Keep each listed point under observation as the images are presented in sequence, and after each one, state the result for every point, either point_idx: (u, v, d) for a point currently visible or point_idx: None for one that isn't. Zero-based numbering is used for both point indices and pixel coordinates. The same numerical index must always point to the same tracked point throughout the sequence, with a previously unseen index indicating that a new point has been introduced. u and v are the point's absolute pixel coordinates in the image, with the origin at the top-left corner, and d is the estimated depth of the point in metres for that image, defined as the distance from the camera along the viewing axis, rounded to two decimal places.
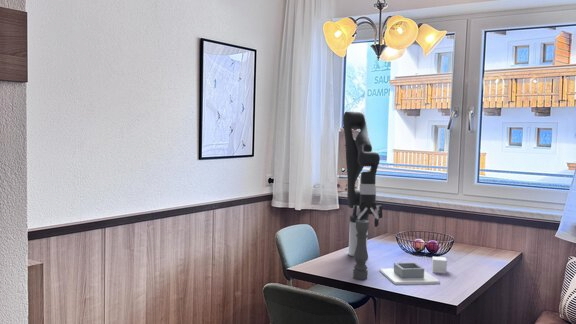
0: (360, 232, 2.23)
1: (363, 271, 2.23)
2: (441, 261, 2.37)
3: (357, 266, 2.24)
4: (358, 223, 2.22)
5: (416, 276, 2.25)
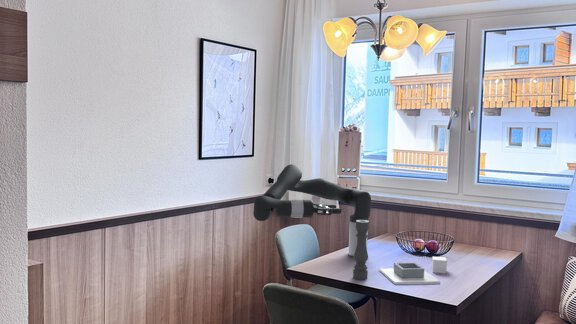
0: (360, 232, 2.23)
1: (363, 271, 2.23)
2: (441, 261, 2.37)
3: (357, 266, 2.24)
4: (358, 223, 2.22)
5: (416, 276, 2.25)
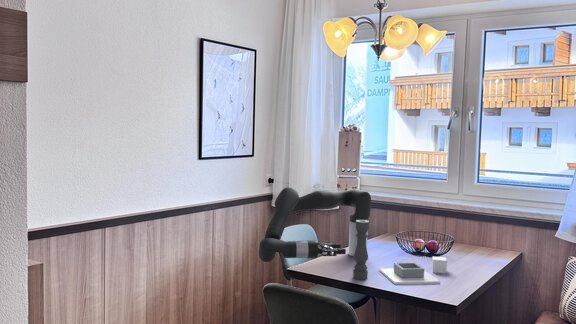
0: (360, 232, 2.23)
1: (363, 271, 2.23)
2: (441, 261, 2.37)
3: (357, 266, 2.24)
4: (358, 223, 2.22)
5: (416, 276, 2.25)
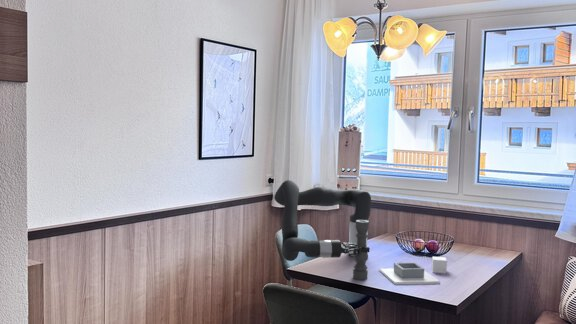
0: (360, 232, 2.23)
1: (363, 271, 2.23)
2: (441, 261, 2.37)
3: (357, 266, 2.24)
4: (358, 223, 2.22)
5: (416, 276, 2.25)
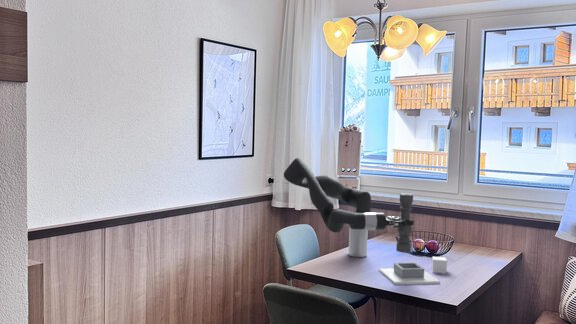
0: (405, 205, 2.25)
1: (407, 244, 2.25)
2: (441, 261, 2.37)
3: (401, 239, 2.26)
4: (402, 196, 2.24)
5: (416, 276, 2.25)
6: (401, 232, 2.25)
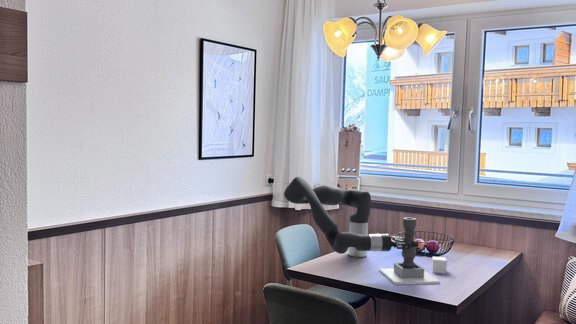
0: (408, 230, 2.26)
1: None
2: (441, 261, 2.37)
3: (405, 263, 2.27)
4: (406, 220, 2.26)
5: (416, 276, 2.25)
6: (405, 256, 2.27)
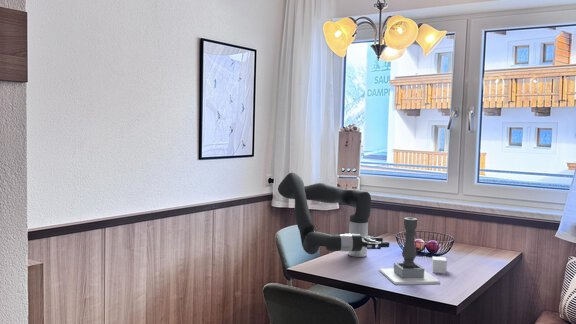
0: (409, 230, 2.26)
1: None
2: (441, 261, 2.37)
3: (406, 263, 2.27)
4: (407, 221, 2.26)
5: (416, 276, 2.25)
6: (406, 256, 2.27)
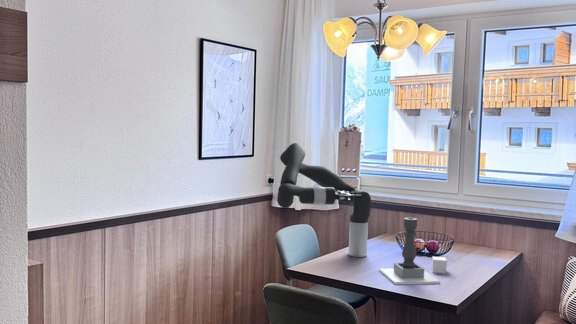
0: (409, 230, 2.26)
1: None
2: (441, 261, 2.37)
3: (406, 263, 2.27)
4: (407, 221, 2.26)
5: (416, 276, 2.25)
6: (406, 256, 2.27)
